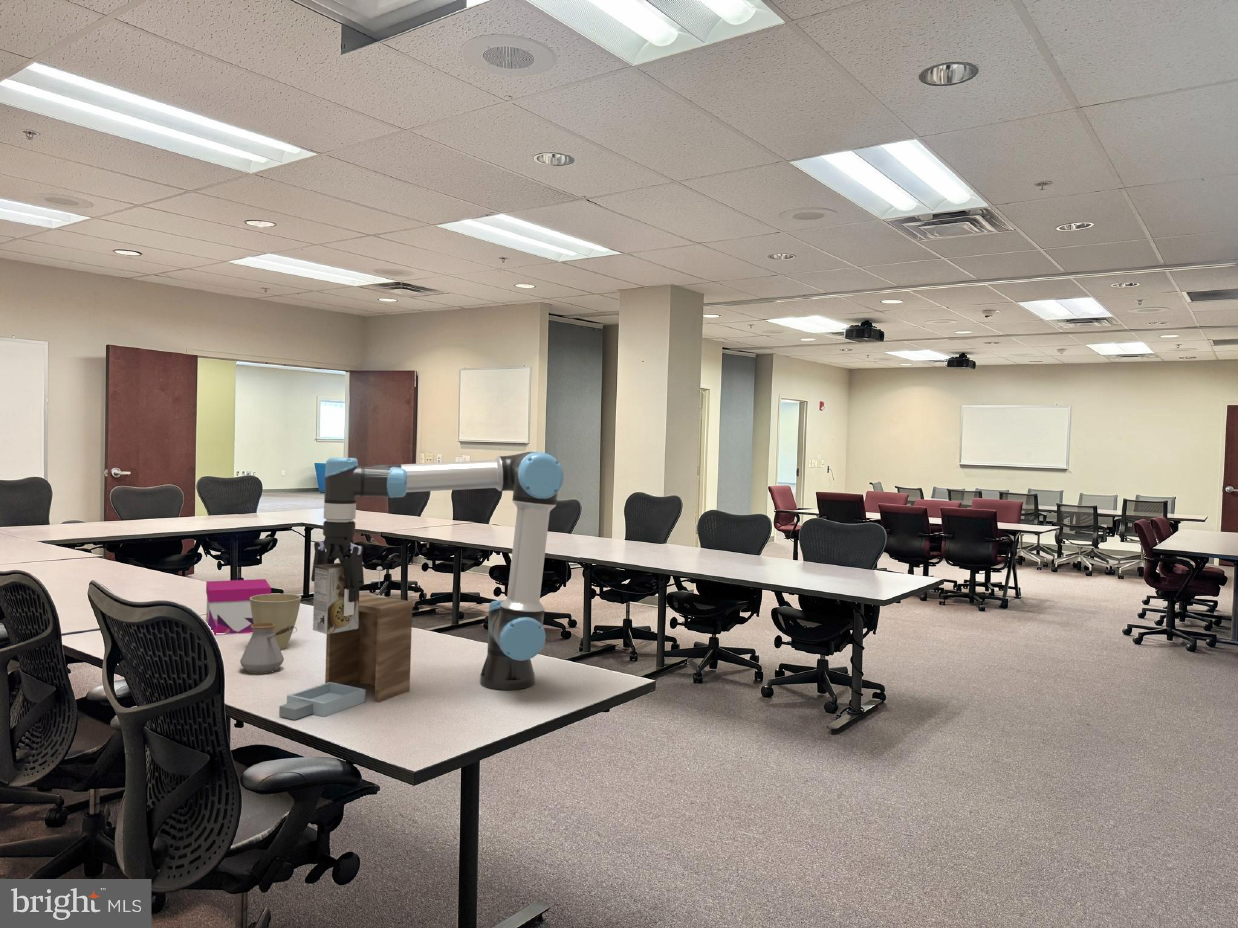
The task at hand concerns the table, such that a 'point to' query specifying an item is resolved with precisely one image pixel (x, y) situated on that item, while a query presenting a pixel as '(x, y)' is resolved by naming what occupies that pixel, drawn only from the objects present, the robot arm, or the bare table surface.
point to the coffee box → (332, 600)
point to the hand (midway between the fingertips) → (336, 612)
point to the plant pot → (276, 613)
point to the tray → (321, 700)
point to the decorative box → (232, 604)
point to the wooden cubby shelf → (374, 648)
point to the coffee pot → (263, 649)
